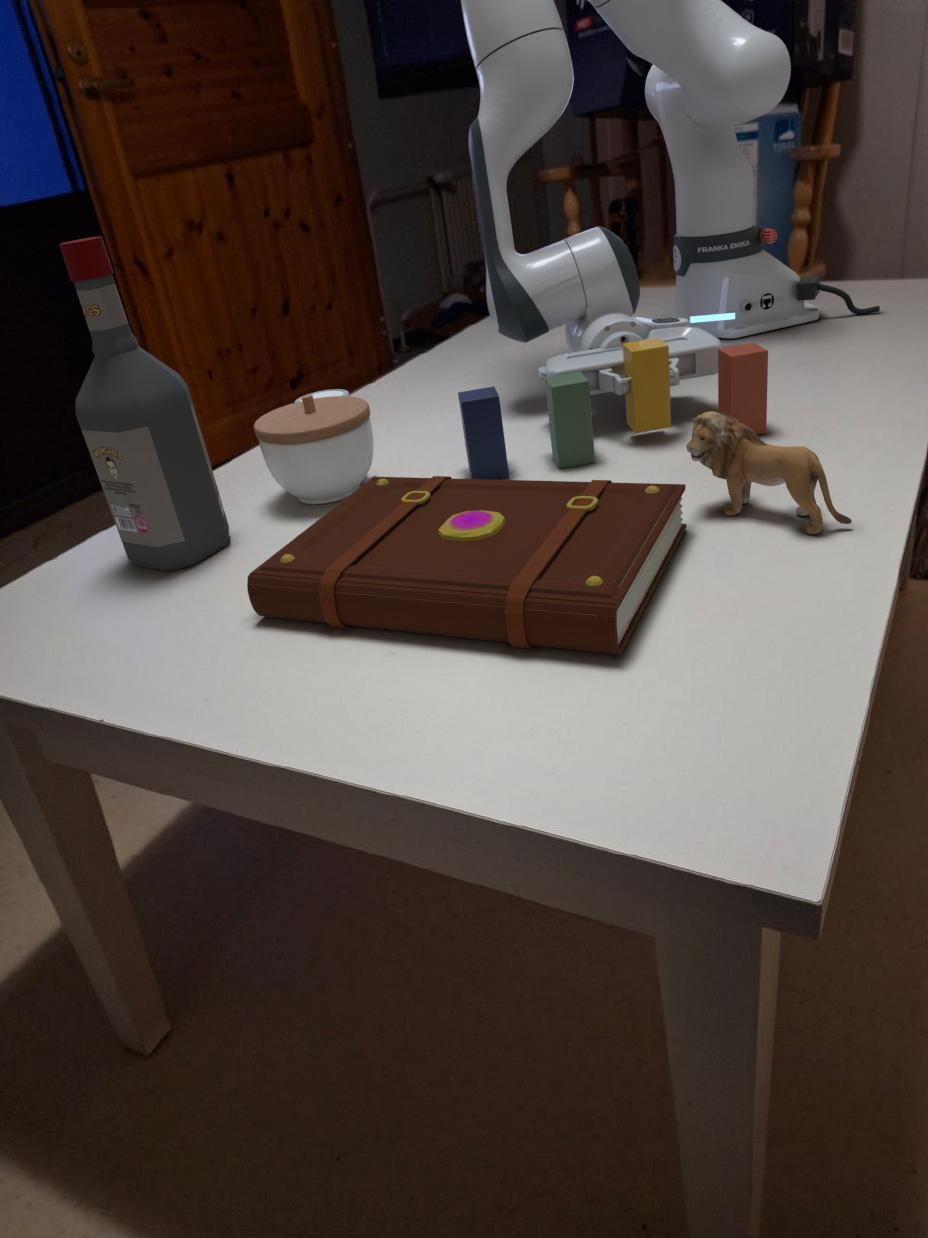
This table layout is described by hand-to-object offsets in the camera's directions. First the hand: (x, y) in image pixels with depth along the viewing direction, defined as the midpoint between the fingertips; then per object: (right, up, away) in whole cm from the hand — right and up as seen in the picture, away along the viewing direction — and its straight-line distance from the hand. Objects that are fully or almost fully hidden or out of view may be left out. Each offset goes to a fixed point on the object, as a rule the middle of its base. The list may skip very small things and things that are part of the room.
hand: (649, 382), depth 98 cm
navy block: (-17, -10, +1) cm, 20 cm away
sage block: (-8, -8, +1) cm, 12 cm away
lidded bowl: (-35, -12, +4) cm, 37 cm away
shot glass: (-37, -4, +17) cm, 41 cm away
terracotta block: (+11, -5, +2) cm, 12 cm away
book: (-19, -22, -20) cm, 35 cm away
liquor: (-49, -19, -5) cm, 53 cm away
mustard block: (+1, -4, +3) cm, 5 cm away
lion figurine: (+6, -17, -18) cm, 25 cm away
